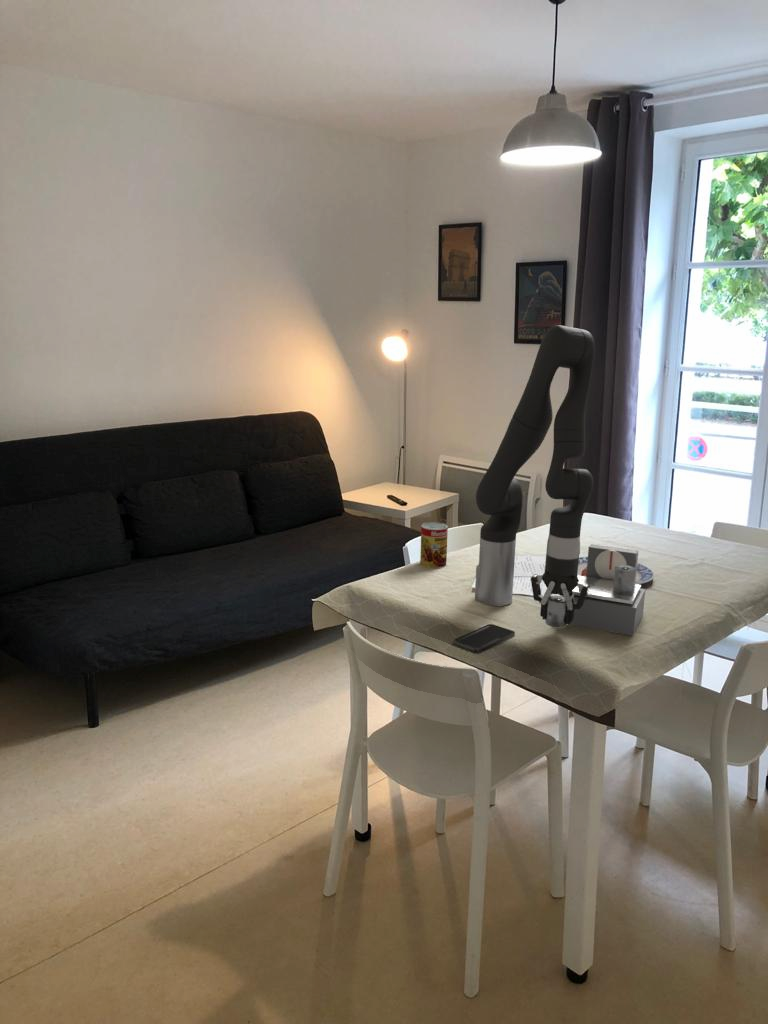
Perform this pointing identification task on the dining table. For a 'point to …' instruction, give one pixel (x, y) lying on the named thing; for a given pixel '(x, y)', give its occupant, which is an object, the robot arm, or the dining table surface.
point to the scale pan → (605, 590)
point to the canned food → (433, 545)
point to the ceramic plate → (642, 571)
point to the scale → (605, 611)
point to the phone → (484, 638)
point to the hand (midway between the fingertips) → (556, 620)
